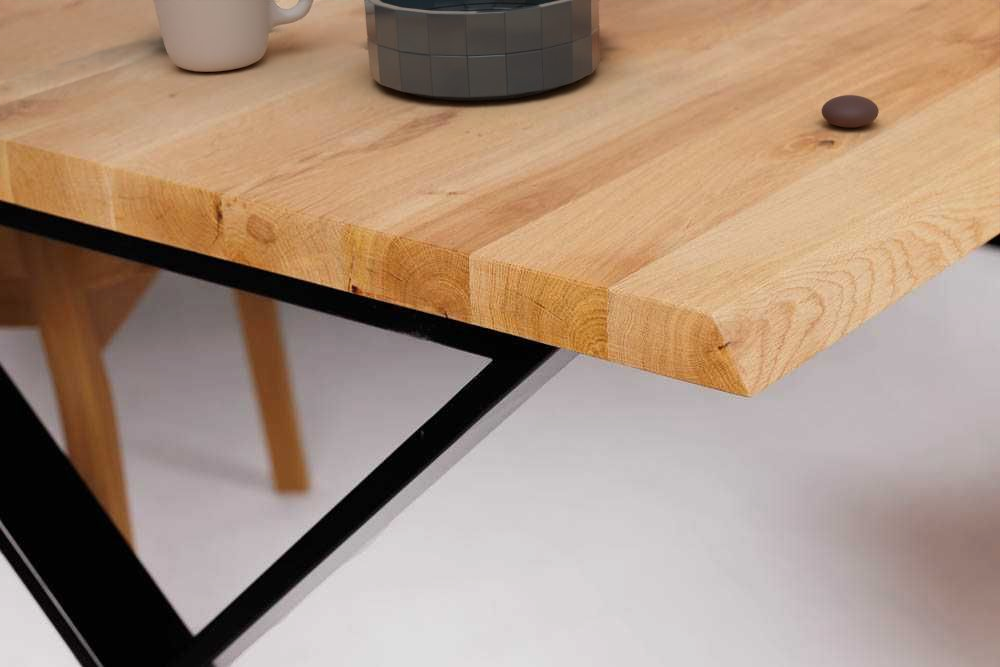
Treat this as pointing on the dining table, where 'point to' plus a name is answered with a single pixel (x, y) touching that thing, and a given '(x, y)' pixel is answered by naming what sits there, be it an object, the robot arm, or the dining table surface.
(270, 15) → the cup
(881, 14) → the dining table surface
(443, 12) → the bowl
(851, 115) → the chocolate truffle
